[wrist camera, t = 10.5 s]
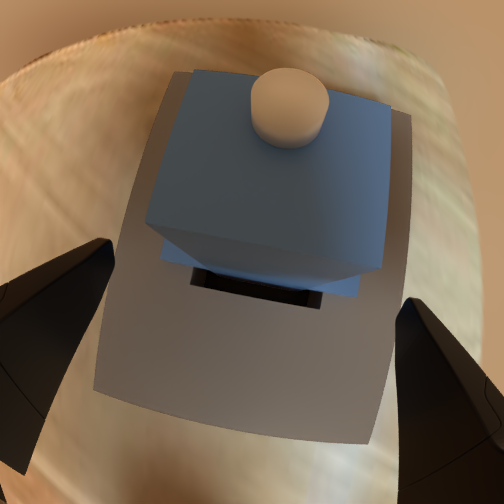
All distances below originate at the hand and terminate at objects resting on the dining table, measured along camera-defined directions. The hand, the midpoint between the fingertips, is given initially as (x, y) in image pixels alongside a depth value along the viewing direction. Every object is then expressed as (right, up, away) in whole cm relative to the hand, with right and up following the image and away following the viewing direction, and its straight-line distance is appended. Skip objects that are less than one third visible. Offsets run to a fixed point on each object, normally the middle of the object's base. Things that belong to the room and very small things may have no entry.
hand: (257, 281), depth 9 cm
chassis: (+1, +1, +10) cm, 10 cm away
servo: (+1, +1, +10) cm, 10 cm away
